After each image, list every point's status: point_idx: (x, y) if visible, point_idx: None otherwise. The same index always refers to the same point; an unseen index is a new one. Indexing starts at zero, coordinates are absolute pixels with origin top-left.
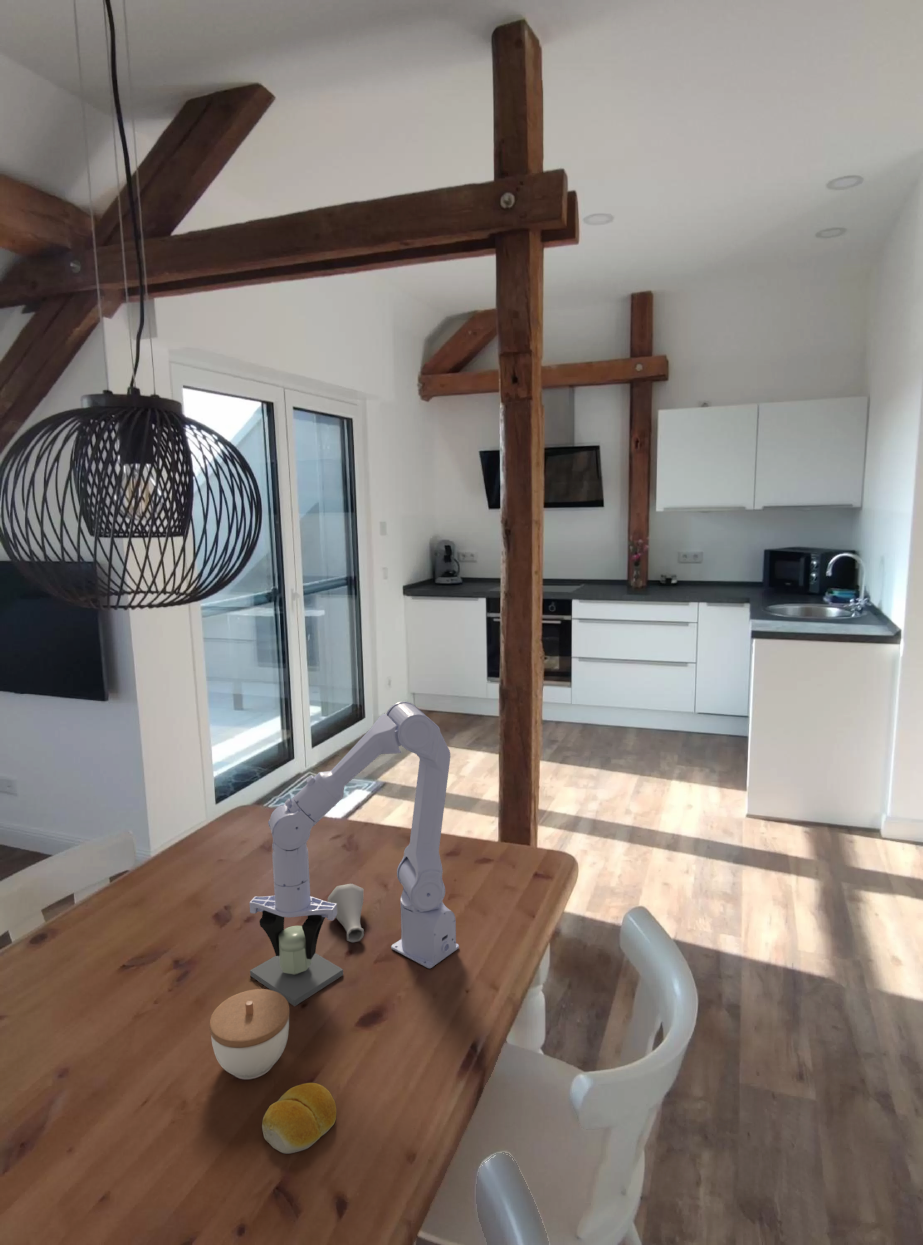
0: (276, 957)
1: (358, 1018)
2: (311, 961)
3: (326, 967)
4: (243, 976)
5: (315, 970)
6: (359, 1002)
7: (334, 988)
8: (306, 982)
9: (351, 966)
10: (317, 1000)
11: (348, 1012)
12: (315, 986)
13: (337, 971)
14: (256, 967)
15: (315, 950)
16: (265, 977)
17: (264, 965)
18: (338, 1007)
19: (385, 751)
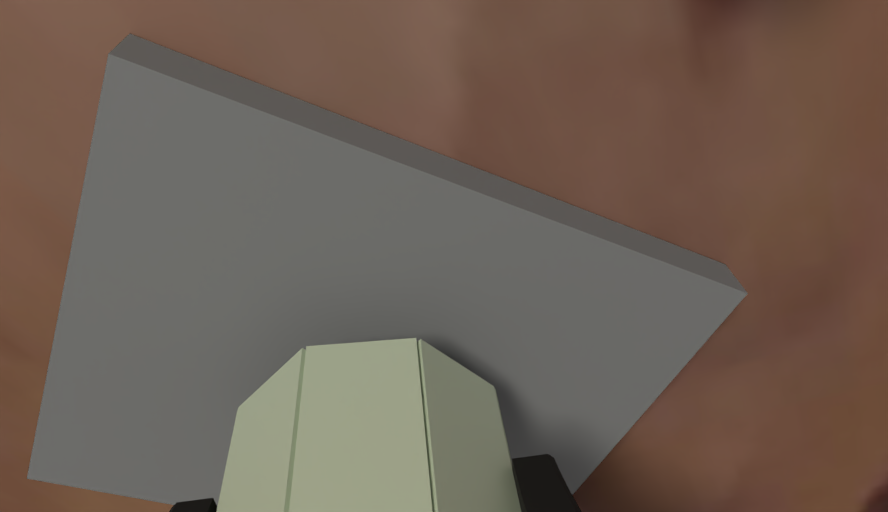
0: (89, 318)
1: (863, 501)
2: (494, 393)
3: (601, 308)
4: (3, 453)
5: (526, 358)
6: (864, 426)
7: (689, 381)
8: (514, 457)
9: (776, 154)
10: (613, 473)
11: (807, 488)
12: (591, 470)
13: (706, 322)
14: (43, 447)
15: (559, 472)
16: (202, 494)
17: (83, 418)
18: (747, 479)
19: None
